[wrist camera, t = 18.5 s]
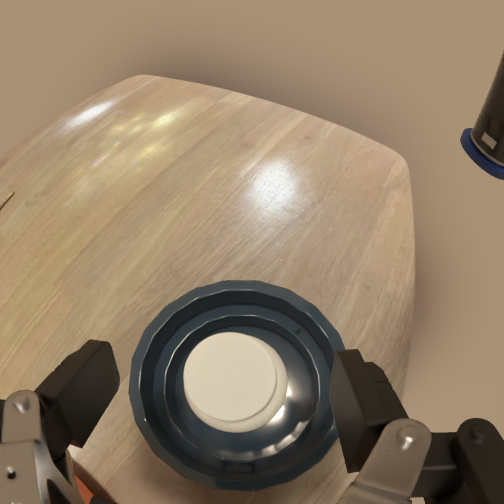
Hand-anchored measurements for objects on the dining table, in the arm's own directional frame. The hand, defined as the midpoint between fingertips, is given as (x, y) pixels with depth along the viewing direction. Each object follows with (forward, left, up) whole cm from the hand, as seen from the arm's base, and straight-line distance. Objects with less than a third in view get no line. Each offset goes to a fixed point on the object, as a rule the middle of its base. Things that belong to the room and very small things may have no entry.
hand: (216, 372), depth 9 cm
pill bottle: (0, 0, -12) cm, 12 cm away
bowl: (0, 0, -13) cm, 13 cm away
